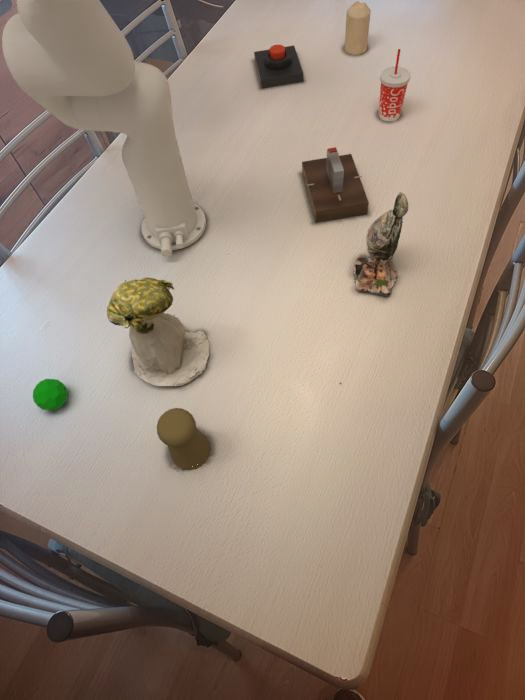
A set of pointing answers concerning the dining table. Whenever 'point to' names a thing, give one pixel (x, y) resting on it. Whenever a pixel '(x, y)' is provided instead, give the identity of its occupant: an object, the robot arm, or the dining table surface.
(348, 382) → the dining table surface
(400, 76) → the beverage cup
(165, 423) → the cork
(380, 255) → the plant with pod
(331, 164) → the grey flat block
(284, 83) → the button box
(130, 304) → the mushroom figurine
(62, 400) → the polyhedron
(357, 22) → the candle
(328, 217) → the dial knob base
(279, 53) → the button
